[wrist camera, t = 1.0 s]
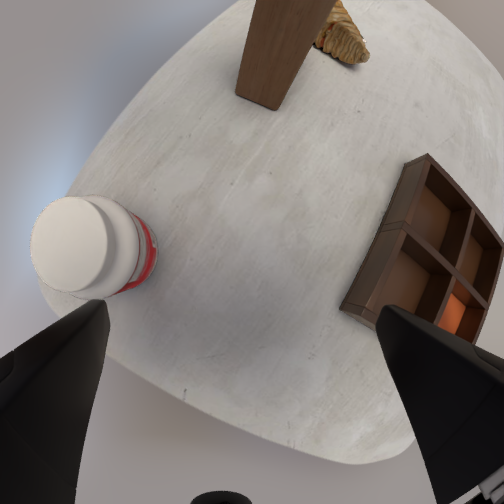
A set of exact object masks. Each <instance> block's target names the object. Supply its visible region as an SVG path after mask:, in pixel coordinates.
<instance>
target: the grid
mask: <svg viewBox="0 0 504 504" xmlns="http://www.w3.org/2000/svg"><path fill="white" fill-rule="evenodd" d="M503 257H504V243H503V241H502V240H501V238H500V237H499V235H498V234H497V232H496V231H495V230H494V228H493V227H492V226H491V224H490V223H489V222H488V220H487V219H486V218H485V216H484V215H483V214H482V213H481V211H480V210H479V209H478V207H477V206H476V205H475V204H474V203H473V201H472V200H471V199H470V198H469V197H468V195H467V194H466V193H465V192H464V191H463V190H462V188H461V187H460V186H459V185H458V184H457V183H456V182H455V181H454V180H453V178H452V177H451V176H450V175H449V174H448V173H447V172H446V171H445V170H444V169H443V168H442V167H441V166H440V165H439V164H438V163H437V162H436V161H435V160H434V159H433V158H432V157H431V156H430V155H429V154H428V153H427V154H425V155H423V156H421V157H418V158H416V159H414V160H412V161H410V162H408V163H406V164H405V166H404V169H403V171H402V174H401V177H400V179H399V182H398V184H397V187H396V189H395V192H394V194H393V197H392V199H391V202H390V204H389V207H388V209H387V211H386V214H385V216H384V218H383V221H382V223H381V225H380V227H379V230H378V232H377V234H376V236H375V239H374V241H373V243H372V245H371V247H370V249H369V251H368V254H367V256H366V258H365V260H364V262H363V264H362V266H361V268H360V270H359V272H358V274H357V276H356V278H355V280H354V282H353V284H352V286H351V288H350V290H349V292H348V293H347V295H346V297H345V299H344V301H343V303H342V305H341V306H340V308H339V310H341V311H343V312H344V313H346V314H348V315H349V316H351V317H353V318H354V319H356V320H358V321H359V322H361V323H363V324H364V325H366V326H368V327H369V328H371V329H373V330H374V331H376V330H375V325H376V321H377V319H378V316H379V314H380V311H381V309H382V307H383V306H384V305H389V304H394V305H397V306H399V307H401V308H403V309H405V310H407V311H409V312H411V313H413V314H415V315H417V316H419V317H421V318H423V319H425V320H427V321H429V322H430V323H432V324H434V325H436V326H438V327H440V328H442V329H444V330H446V331H448V332H450V333H452V334H454V335H456V336H458V337H460V338H462V339H464V340H466V341H468V342H470V343H471V344H474V345H475V344H476V342H477V339H478V337H479V334H480V332H481V329H482V326H483V324H484V321H485V318H486V316H487V312H488V309H489V306H490V304H491V300H492V297H493V294H494V291H495V288H496V284H497V281H498V277H499V273H500V269H501V265H502V261H503Z"/></svg>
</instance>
